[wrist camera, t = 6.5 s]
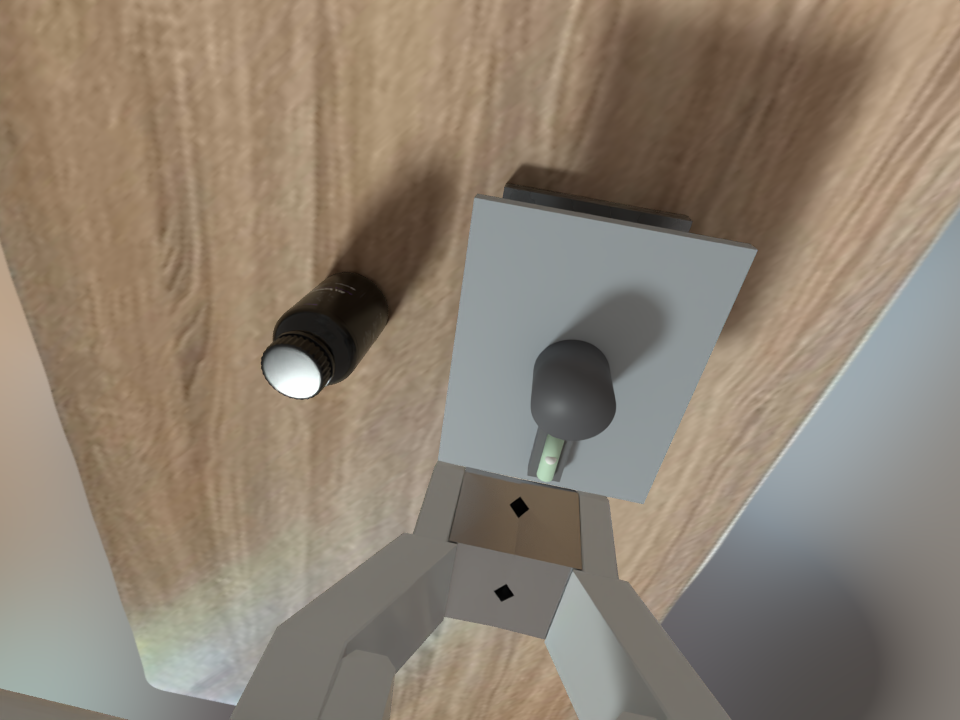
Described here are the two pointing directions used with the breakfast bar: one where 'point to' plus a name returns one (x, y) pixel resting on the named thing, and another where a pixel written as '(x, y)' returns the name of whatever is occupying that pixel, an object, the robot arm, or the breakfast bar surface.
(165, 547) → the breakfast bar surface
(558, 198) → the stand
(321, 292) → the supplement bottle
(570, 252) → the plate
